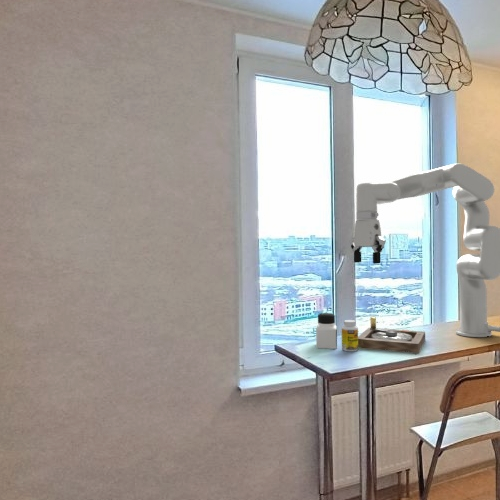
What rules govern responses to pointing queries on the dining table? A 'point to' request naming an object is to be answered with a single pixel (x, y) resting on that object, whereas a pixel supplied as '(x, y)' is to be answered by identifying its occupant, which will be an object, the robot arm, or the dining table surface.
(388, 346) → the housing
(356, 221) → the robot arm
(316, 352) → the dining table surface
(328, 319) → the medicine bottle
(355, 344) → the supplement bottle
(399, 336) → the dial
